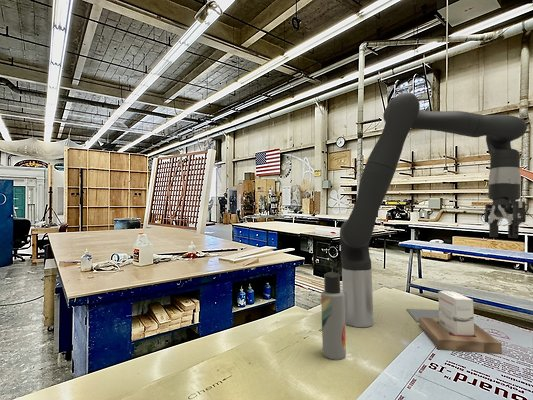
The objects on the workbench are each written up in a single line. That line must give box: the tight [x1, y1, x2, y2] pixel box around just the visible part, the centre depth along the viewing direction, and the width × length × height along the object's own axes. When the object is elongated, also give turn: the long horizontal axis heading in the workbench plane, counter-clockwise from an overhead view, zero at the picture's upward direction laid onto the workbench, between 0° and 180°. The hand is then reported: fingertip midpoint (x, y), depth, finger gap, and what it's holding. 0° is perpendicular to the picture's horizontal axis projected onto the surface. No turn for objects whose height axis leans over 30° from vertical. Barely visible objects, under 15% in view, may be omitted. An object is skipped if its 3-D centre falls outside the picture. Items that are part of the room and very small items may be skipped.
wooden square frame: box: [418, 317, 503, 355], centre depth 79 cm, size 14×16×2 cm
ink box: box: [438, 290, 475, 337], centre depth 80 cm, size 9×5×12 cm, turn 178°
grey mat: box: [405, 308, 439, 323], centre depth 96 cm, size 14×12×1 cm
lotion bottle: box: [320, 271, 347, 360], centre depth 72 cm, size 6×6×20 cm
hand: (502, 237), depth 86 cm, fingers open, 8 cm apart
